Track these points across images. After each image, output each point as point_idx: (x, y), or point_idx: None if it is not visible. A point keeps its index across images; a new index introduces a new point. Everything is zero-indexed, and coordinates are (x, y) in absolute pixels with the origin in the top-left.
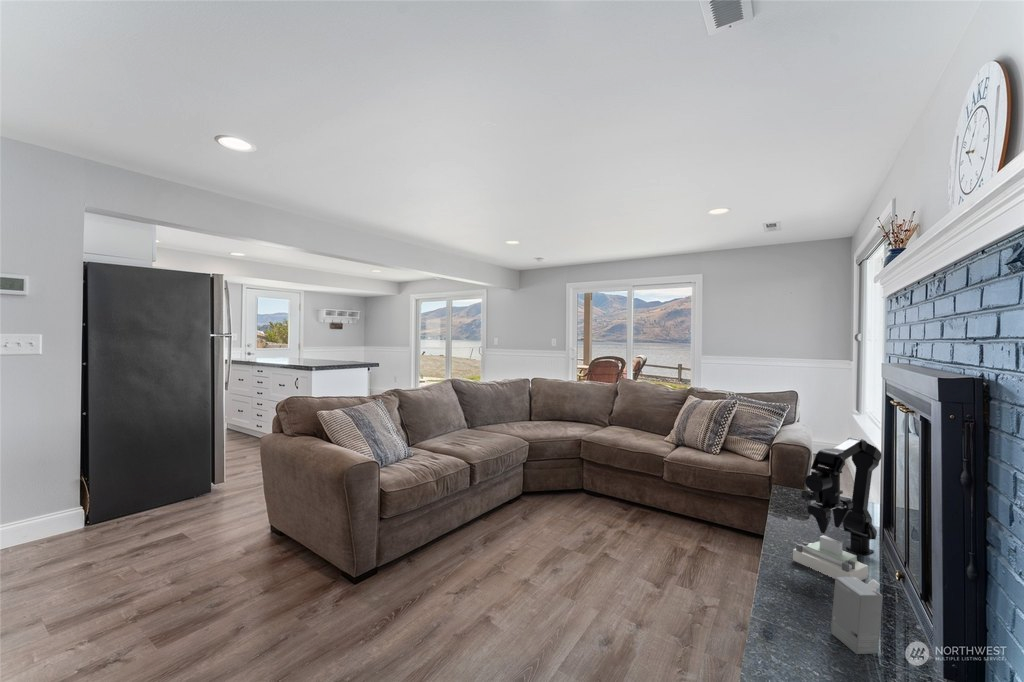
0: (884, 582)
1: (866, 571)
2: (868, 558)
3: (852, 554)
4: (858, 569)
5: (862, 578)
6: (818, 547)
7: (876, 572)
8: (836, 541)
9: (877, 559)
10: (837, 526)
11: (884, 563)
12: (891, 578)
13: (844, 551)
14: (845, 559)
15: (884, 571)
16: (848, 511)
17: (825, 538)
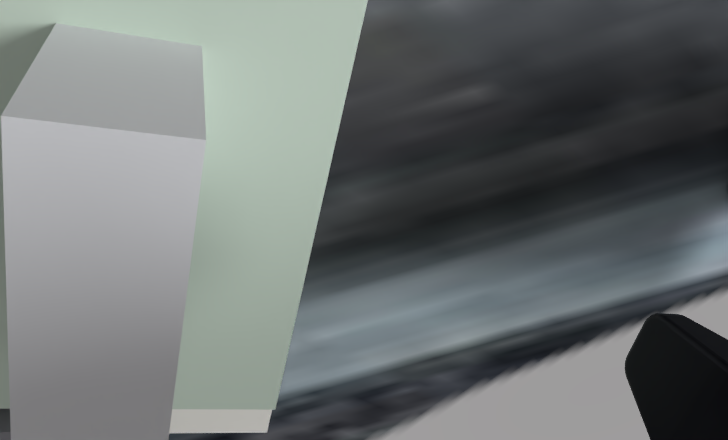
0: (277, 423)
1: None
2: (685, 223)
3: (275, 373)
4: None
5: None
6: (47, 4)
7: (425, 342)
8: (96, 402)
9: (707, 267)
10: (641, 375)
11: None
12: (399, 420)
13: (284, 298)
14: (3, 395)
15: (494, 362)
16: None
17: (24, 241)
